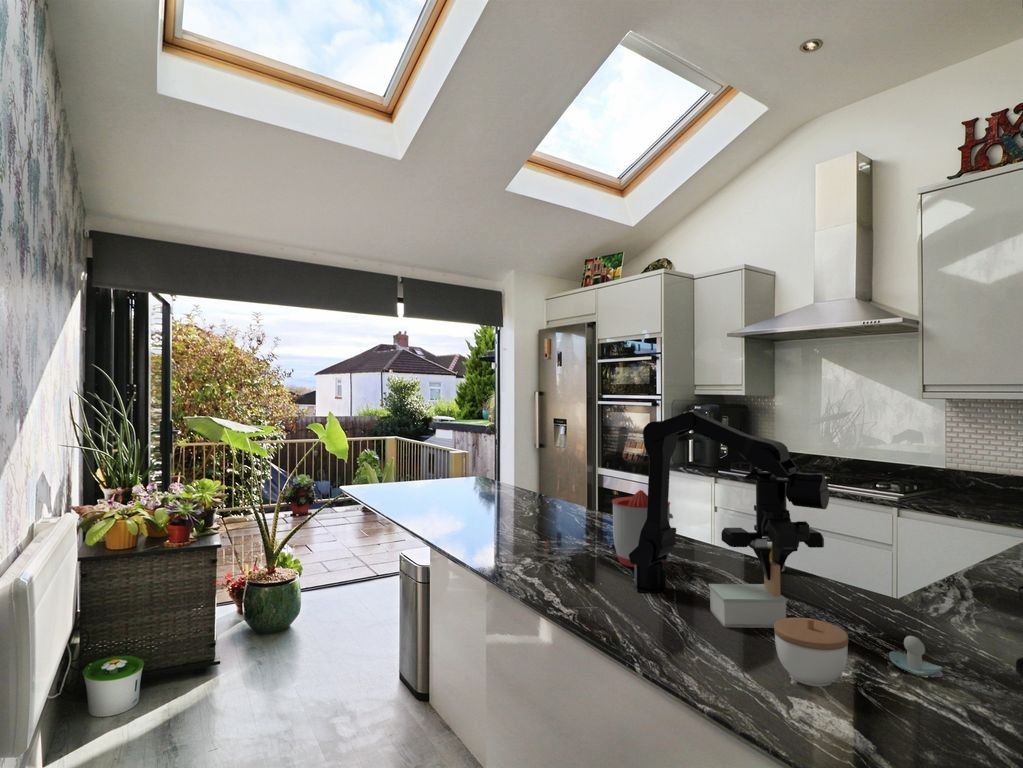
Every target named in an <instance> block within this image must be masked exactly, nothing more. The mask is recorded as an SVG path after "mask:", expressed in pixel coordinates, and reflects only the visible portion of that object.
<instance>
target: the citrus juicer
mask: <svg viewBox="0 0 1023 768" xmlns="http://www.w3.org/2000/svg"><path fill="white" fill-rule="evenodd" d="M647 501H648V494H646V492H645V491H643V490H642V489H640V490H638V491H636V492H635V494H633V495H632V496H623V497H616V498H613V499H612V500H611V503H612V536H613V543H614V548H615V551H616V556H617V558H618V562H619V563H620V564H621V565H623V566H626V567H631V568H634V564H631V562H630V559H629V554H630V553H631V552H632V551H633V550H634V549H635V548H636V547H637V546H638V542H639V537H640V533H641V530H642V528H643V526H644V523H645V521H646V519H647ZM670 505H671V502H670V501H668V522H669V523H670V519H674V515H673V514H672V513H671V511H670ZM665 561H666V560H663V561H661V562H662V563H663V564H664V563H665Z"/></svg>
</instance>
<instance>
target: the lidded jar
mask: <svg viewBox="0 0 1023 768" xmlns="http://www.w3.org/2000/svg"><path fill="white" fill-rule="evenodd" d="M773 630H774V642H775V649H776V653H777V657H778V659H779V661H780V663H781V666H783V669H784V670H786V672H788V674H789V676H790V677H791V678H792V679H793V680H794V681H796V682H798V683H800V684H803V685H805V686H810V687H816V688H817V687H818V688H823V687H822V686H826V685H829V684H831V683H832V684H833V682H834V681H836V680H838V678H840V677H841V675H842V674H843V672H844V670H845V668H846V666H847V660H848V652H849V650H848V649H849V647H848V644H849V635H848V633H847V632H846V631H845V630H844V629H842V628H841V627H839V626H837V625H834V624H832V623H829V622H826V621H823V620H818V619H814V618H809V617H808V618H807V617H786V618H784V619H780V620H778V621H776V622H775V624H774V628H773ZM832 684H831V685H832ZM829 686H830V685H829ZM826 687H827V686H826Z"/></svg>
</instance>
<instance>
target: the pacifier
mask: <svg viewBox="0 0 1023 768" xmlns="http://www.w3.org/2000/svg"><path fill="white" fill-rule="evenodd" d="M903 646H904V648H905V650H906V652H907V653H906V654H904V653H902V652H899V651H894V650H893V651H890V652H889V653H888V657H889V660H890V661H891V662H892V663H893V664H894V665H895V666H897V667H898V668H900V669H902V670H903V669H904V670H906V671H908V672H911V673H913V674H917V675H922V676H931V677H930V678H935V677H939V678H943V676H944V673H943V672H942V671H941V670H942V666H940V665H936V664H932V663H929V662H925V661H923V655H924V654H925V653H926V647H925V644H924V643H923V642H922V641H921V640H920V639H919V638H918V637H916V636H913V635H907V636H906V637H905V638H904V640H903ZM932 676H933V677H932Z"/></svg>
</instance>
